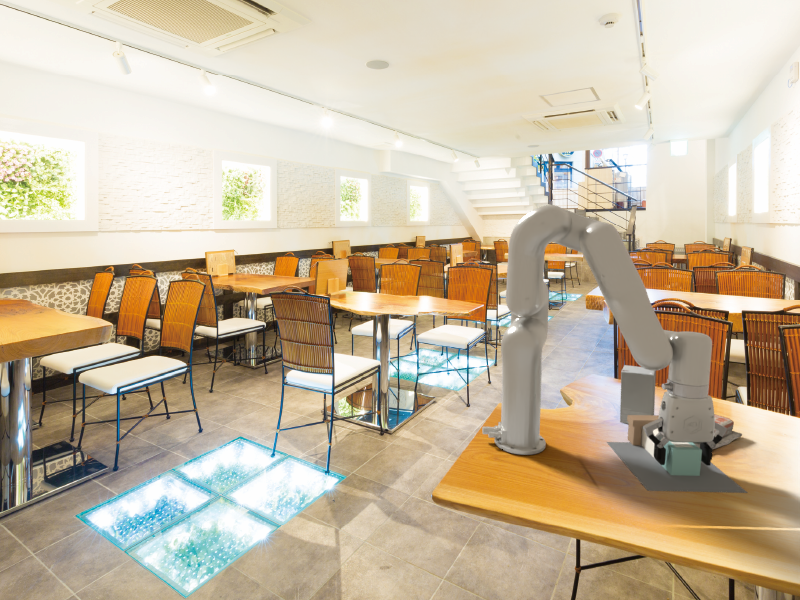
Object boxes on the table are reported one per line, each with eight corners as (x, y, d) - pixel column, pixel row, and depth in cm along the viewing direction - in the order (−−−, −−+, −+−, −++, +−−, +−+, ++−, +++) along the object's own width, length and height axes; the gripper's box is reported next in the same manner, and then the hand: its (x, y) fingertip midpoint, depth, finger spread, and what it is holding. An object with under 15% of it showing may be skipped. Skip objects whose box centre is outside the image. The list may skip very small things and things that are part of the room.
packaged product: (701, 408, 126) (743, 420, 118) (700, 425, 127) (742, 438, 119) (665, 422, 117) (707, 436, 109) (664, 440, 118) (706, 455, 109)
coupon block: (647, 462, 107) (649, 435, 106) (625, 438, 118) (626, 414, 117) (696, 462, 106) (698, 435, 105) (669, 439, 118) (671, 415, 117)
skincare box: (653, 421, 130) (658, 367, 127) (651, 431, 124) (656, 374, 121) (620, 415, 134) (624, 363, 132) (617, 424, 128) (621, 369, 126)
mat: (647, 492, 95) (647, 490, 95) (606, 443, 117) (606, 441, 117) (747, 494, 94) (747, 492, 94) (687, 444, 116) (687, 443, 116)
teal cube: (671, 475, 101) (673, 449, 100) (659, 462, 106) (661, 437, 105) (699, 475, 100) (702, 449, 100) (685, 463, 106) (688, 438, 105)
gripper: (655, 394, 97) (650, 470, 99) (740, 394, 96) (733, 471, 98) (638, 383, 104) (634, 454, 107) (718, 383, 103) (711, 454, 106)
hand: (682, 462), depth 102 cm, fingers open, 9 cm apart
